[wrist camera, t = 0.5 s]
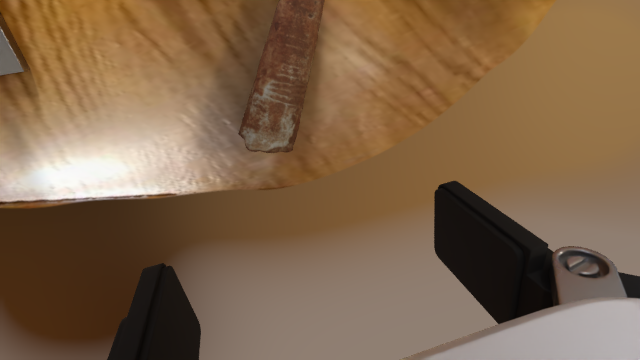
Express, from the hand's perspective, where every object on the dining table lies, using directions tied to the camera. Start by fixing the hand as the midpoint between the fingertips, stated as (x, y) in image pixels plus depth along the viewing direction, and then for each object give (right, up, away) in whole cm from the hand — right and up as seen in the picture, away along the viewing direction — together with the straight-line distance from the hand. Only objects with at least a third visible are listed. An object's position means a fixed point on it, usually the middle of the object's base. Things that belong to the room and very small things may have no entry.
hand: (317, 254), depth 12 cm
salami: (-5, +16, +25) cm, 30 cm away
